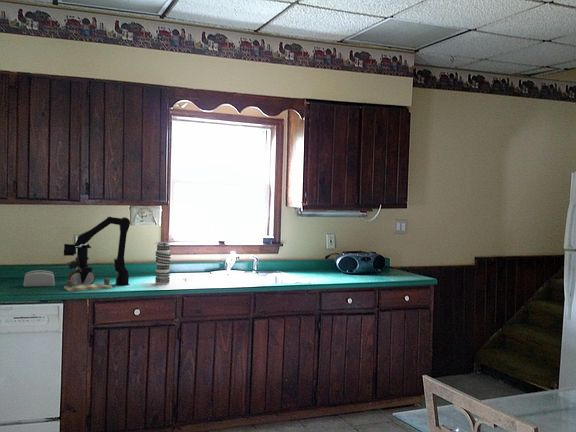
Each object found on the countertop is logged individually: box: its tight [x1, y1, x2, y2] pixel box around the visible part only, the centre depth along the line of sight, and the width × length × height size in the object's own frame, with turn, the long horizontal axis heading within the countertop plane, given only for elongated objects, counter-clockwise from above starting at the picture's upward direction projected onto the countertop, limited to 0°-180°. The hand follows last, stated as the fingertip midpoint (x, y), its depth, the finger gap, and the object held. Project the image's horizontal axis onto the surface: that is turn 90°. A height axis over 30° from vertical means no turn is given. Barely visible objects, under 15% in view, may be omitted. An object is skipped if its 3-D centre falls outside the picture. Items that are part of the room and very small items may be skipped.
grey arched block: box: [22, 269, 56, 287], centre depth 355 cm, size 17×5×10 cm, turn 112°
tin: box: [67, 270, 96, 286], centre depth 361 cm, size 15×3×8 cm, turn 127°
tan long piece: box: [63, 277, 113, 292], centre depth 351 cm, size 24×9×5 cm, turn 125°
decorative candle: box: [154, 241, 172, 286], centre depth 377 cm, size 9×9×25 cm
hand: (81, 282), depth 361 cm, fingers closed on tin, 3 cm apart
